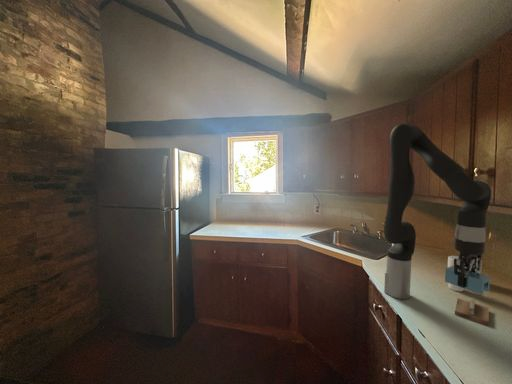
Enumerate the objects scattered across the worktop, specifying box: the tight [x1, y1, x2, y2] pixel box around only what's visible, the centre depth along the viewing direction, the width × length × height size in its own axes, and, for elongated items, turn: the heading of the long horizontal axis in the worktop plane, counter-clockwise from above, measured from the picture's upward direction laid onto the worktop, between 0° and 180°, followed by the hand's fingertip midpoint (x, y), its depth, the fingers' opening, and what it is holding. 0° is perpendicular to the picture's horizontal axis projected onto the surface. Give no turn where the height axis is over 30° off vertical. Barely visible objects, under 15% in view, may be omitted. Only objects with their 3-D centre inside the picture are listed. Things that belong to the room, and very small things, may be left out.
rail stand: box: [454, 297, 490, 326], centre depth 86 cm, size 9×12×4 cm
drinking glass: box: [447, 255, 466, 292], centre depth 103 cm, size 7×7×15 cm
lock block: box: [444, 266, 491, 296], centre depth 77 cm, size 10×6×5 cm, turn 25°
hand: (466, 284), depth 78 cm, fingers closed on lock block, 5 cm apart
